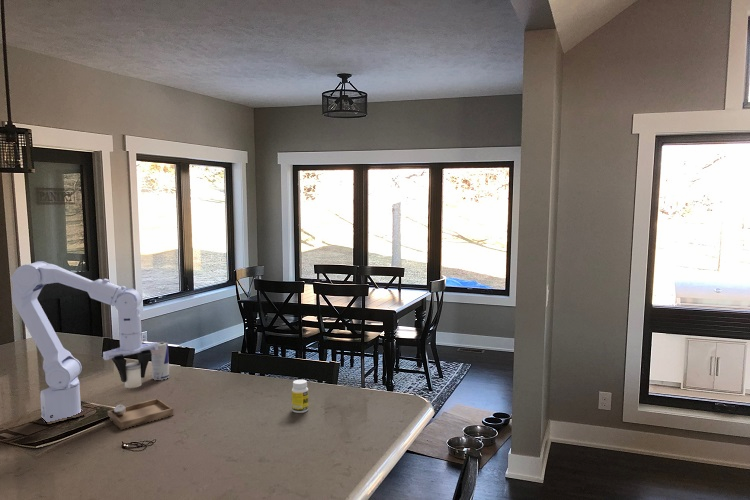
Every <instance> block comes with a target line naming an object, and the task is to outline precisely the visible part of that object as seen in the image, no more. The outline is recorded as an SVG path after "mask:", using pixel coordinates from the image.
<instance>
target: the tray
mask: <svg viewBox="0 0 750 500" xmlns="http://www.w3.org/2000/svg"><path fill="white" fill-rule="evenodd" d="M125 407H126V412H125V413H124V414H123V415H121V416H118V415H116V414H115V413H114V409H110V410H107V417H108V416H109V417H110V419H111V420H112V421H113V422H112V421H111V420H110V419H109V420H110V421H111V422H112V423H113V424H114V425H115V426H116V425H117V426H118V427H119V429H120V431H123V430H122V429H124V430H126V429H125V428H127V429H130V428H129V427H131V428H133V427H132V426H134V427H137V426H136V425H138V426H140V425H139V424H142V425H144V424H143V423H145V424H147V423H146V422H149V423H152V422H155V421H154V420H156V421H159V420H162V419H161V418H163V419H165V418H164V417H166V418H169V417H168V416H170V417H173V416H172V415H174V414H175V411H174V408H173V407H172V406H170V404H169V405H168V404H167V403H166V402H164V401H163V400H161V399H160V398H154V399H150V400H147V401H142V402H137V403H133V404H130V405H127V406H125ZM158 419H159V420H158ZM151 421H152V422H151ZM117 426H116V427H117ZM118 427H117V428H118Z"/></svg>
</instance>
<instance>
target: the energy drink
mask: <svg viewBox="0 0 750 500" xmlns="http://www.w3.org/2000/svg"><path fill="white" fill-rule="evenodd" d="M156 343H158V350H151V351H150V352H151V353H152V356H151V374H152V375H151V377H152V380H153V379H154V381H156V380H161V381H164V380H163V379H165V380H167V378H168V379H169V378H170V363H169V362H170V361H169V360H170V358H169V356H170V355H169V344H168V342H167V341H156Z"/></svg>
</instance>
